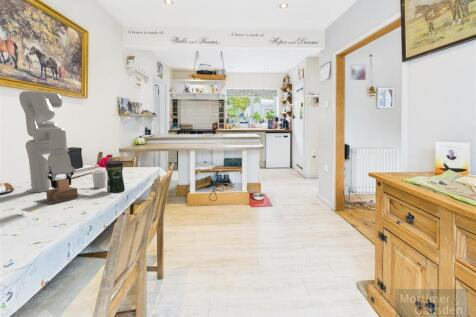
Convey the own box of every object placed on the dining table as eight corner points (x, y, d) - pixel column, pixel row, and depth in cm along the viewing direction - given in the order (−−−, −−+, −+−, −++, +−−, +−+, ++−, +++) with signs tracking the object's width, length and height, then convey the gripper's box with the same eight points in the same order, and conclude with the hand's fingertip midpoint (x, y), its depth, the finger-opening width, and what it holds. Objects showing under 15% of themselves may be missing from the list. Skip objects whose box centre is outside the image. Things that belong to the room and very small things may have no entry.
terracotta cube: (54, 189, 143) (53, 180, 143) (63, 187, 148) (63, 178, 147) (59, 190, 141) (58, 181, 140) (69, 188, 145) (68, 179, 145)
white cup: (101, 188, 175) (100, 172, 174) (90, 188, 177) (89, 172, 175) (109, 185, 183) (108, 170, 182) (98, 185, 184) (97, 170, 183)
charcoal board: (33, 204, 140) (33, 201, 140) (72, 195, 157) (72, 192, 157) (51, 208, 133) (51, 205, 132) (90, 198, 150) (90, 195, 150)
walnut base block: (47, 199, 143) (46, 190, 142) (66, 195, 152) (65, 186, 151) (58, 202, 138) (57, 192, 138) (77, 197, 147) (77, 188, 146)
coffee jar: (122, 188, 173) (120, 159, 171) (126, 191, 167) (124, 160, 165) (105, 191, 167) (103, 160, 165) (109, 193, 161) (107, 162, 159)
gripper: (70, 150, 151) (73, 182, 153) (36, 153, 136) (39, 189, 138) (79, 151, 148) (82, 183, 150) (44, 154, 133) (48, 190, 135)
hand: (61, 186), depth 144 cm, fingers open, 6 cm apart
